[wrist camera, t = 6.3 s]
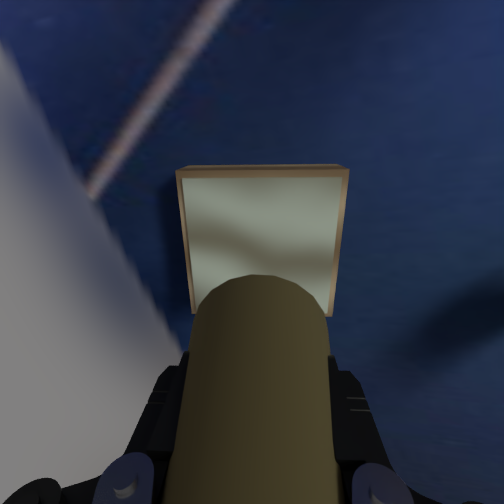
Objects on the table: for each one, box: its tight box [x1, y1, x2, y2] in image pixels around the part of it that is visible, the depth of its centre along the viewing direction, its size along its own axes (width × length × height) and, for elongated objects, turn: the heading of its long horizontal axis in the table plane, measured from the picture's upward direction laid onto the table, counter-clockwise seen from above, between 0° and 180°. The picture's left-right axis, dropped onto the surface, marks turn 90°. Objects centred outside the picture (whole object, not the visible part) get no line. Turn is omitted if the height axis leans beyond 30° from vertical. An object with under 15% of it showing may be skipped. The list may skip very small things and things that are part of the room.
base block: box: [175, 164, 349, 316], centre depth 23 cm, size 12×12×4 cm
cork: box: [160, 274, 346, 504], centre depth 7 cm, size 6×6×11 cm
